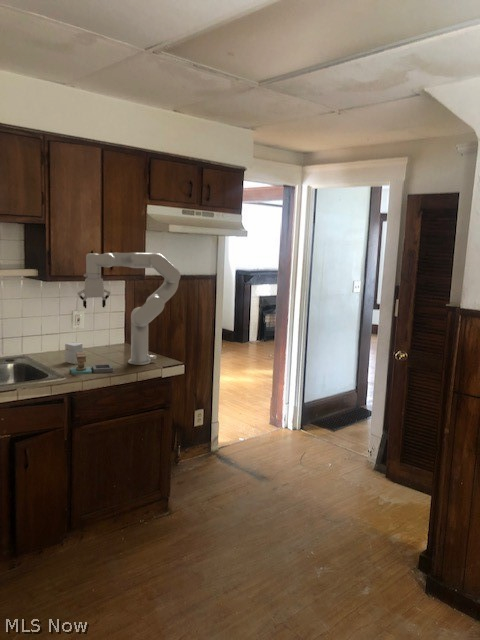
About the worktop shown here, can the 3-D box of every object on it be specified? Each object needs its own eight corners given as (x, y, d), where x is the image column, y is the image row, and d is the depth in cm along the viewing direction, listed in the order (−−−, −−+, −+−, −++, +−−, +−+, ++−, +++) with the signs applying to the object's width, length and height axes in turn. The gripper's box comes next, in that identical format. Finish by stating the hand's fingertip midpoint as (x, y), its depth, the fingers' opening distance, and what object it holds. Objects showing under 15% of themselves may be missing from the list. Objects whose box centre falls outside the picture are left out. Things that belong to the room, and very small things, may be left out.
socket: (110, 367, 288) (110, 363, 288) (113, 371, 279) (113, 368, 279) (91, 368, 285) (91, 364, 284) (93, 373, 275) (93, 369, 275)
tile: (89, 368, 284) (89, 366, 284) (91, 373, 275) (91, 371, 275) (70, 369, 281) (70, 367, 280) (71, 374, 271) (71, 372, 271)
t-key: (86, 371, 275) (86, 356, 273) (76, 371, 273) (76, 356, 271) (85, 367, 283) (85, 352, 282) (75, 367, 281) (75, 352, 280)
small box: (83, 362, 296) (82, 344, 295) (75, 364, 292) (75, 345, 290) (72, 360, 300) (72, 342, 299) (65, 362, 296) (64, 343, 294)
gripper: (78, 277, 280) (78, 309, 283) (111, 276, 287) (111, 308, 290) (76, 275, 287) (77, 307, 290) (108, 275, 294) (109, 306, 297)
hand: (94, 307), depth 290 cm, fingers open, 9 cm apart
